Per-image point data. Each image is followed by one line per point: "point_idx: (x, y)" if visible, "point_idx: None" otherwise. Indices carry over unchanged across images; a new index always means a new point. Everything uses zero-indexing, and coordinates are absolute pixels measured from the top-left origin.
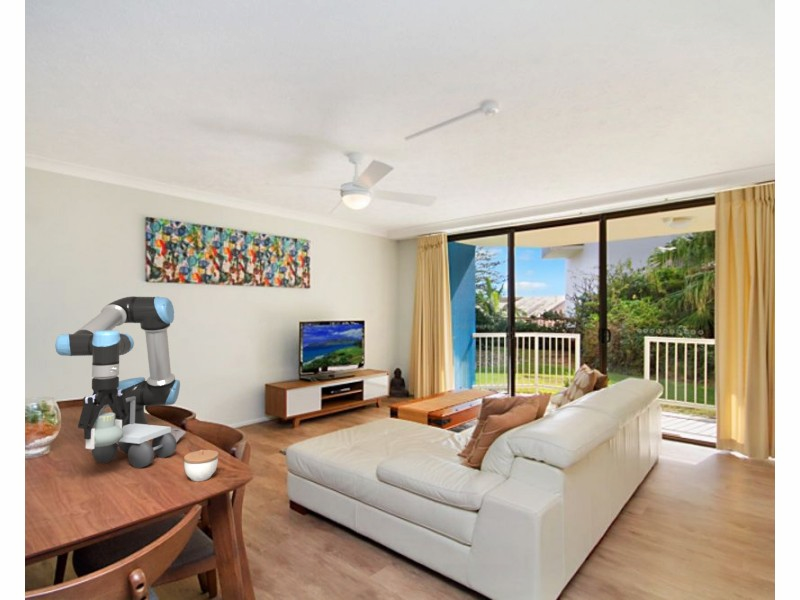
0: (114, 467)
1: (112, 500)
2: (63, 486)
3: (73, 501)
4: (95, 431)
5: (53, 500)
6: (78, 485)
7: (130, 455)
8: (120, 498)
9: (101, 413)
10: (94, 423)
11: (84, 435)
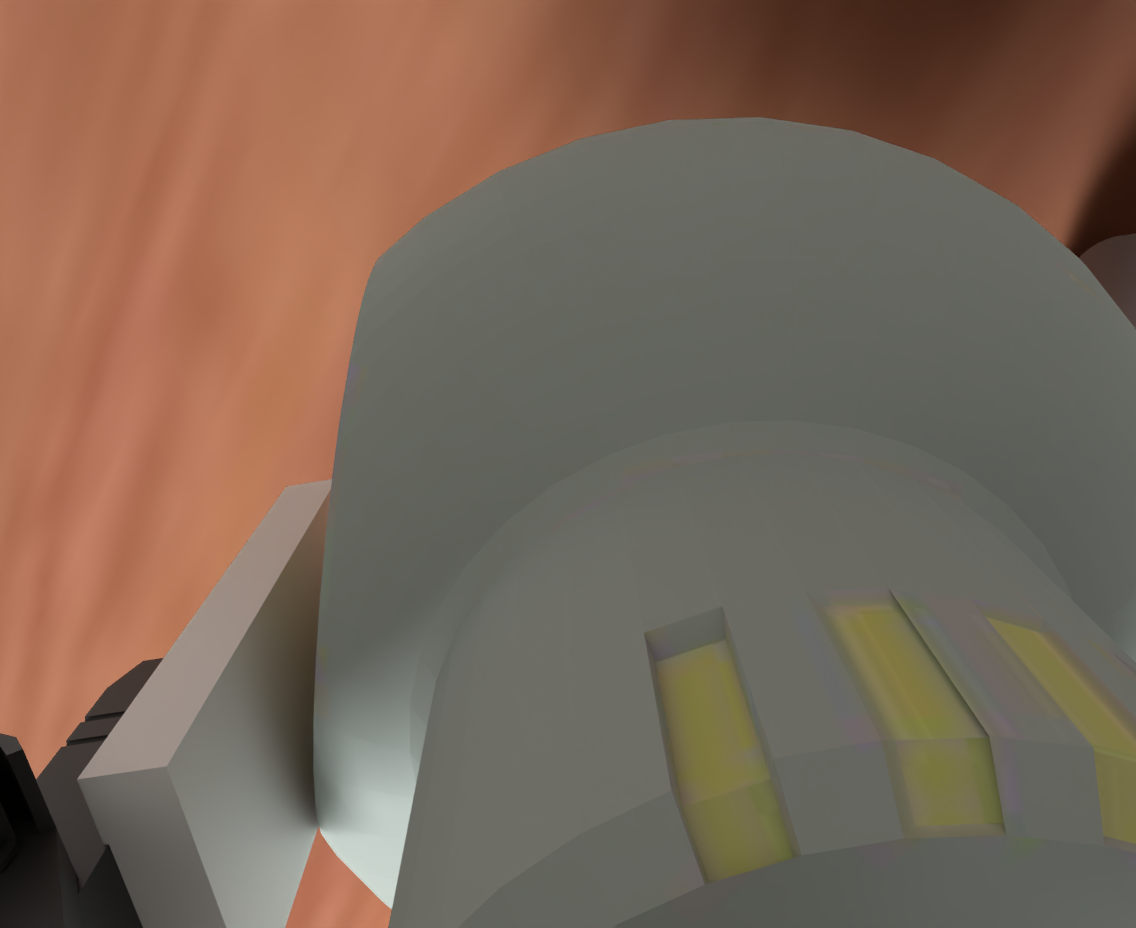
0: (968, 61)
1: (329, 892)
2: (251, 120)
3: (122, 632)
4: (369, 821)
5: (12, 437)
6: (362, 263)
7: (1132, 285)
8: (388, 911)
9: (1024, 922)
10: (413, 812)
11: (78, 744)
